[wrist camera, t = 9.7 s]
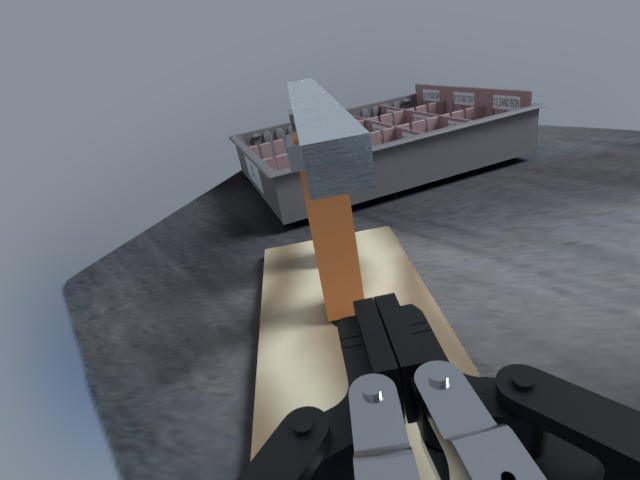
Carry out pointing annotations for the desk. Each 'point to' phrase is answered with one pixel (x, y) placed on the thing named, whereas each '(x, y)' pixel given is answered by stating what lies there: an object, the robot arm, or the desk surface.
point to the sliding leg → (331, 243)
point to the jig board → (330, 331)
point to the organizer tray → (405, 142)
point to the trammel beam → (329, 143)
